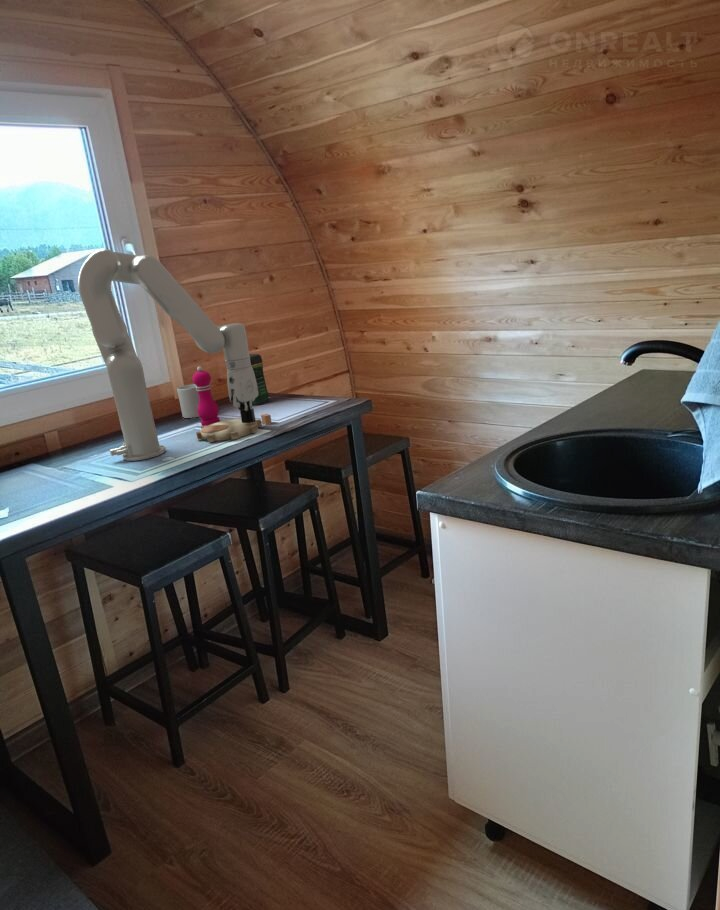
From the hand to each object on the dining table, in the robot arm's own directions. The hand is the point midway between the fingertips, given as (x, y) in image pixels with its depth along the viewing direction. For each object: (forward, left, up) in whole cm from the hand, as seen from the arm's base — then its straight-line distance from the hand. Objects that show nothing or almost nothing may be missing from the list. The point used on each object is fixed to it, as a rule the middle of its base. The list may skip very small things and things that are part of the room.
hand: (247, 422), depth 225 cm
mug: (-2, +42, -4) cm, 42 cm away
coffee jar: (+20, +39, -4) cm, 44 cm away
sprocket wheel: (-5, +4, -3) cm, 7 cm away
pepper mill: (-4, +24, -3) cm, 25 cm away
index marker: (+8, +4, -3) cm, 10 cm away
